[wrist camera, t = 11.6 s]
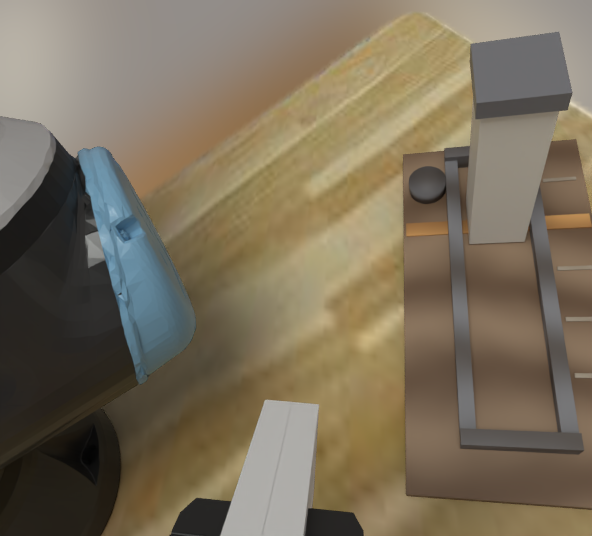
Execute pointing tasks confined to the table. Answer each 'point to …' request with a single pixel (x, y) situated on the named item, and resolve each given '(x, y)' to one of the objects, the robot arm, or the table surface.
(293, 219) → the table surface
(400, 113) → the table surface
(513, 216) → the grey rectangular block
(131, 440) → the table surface
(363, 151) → the table surface
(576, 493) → the brown board with rails
